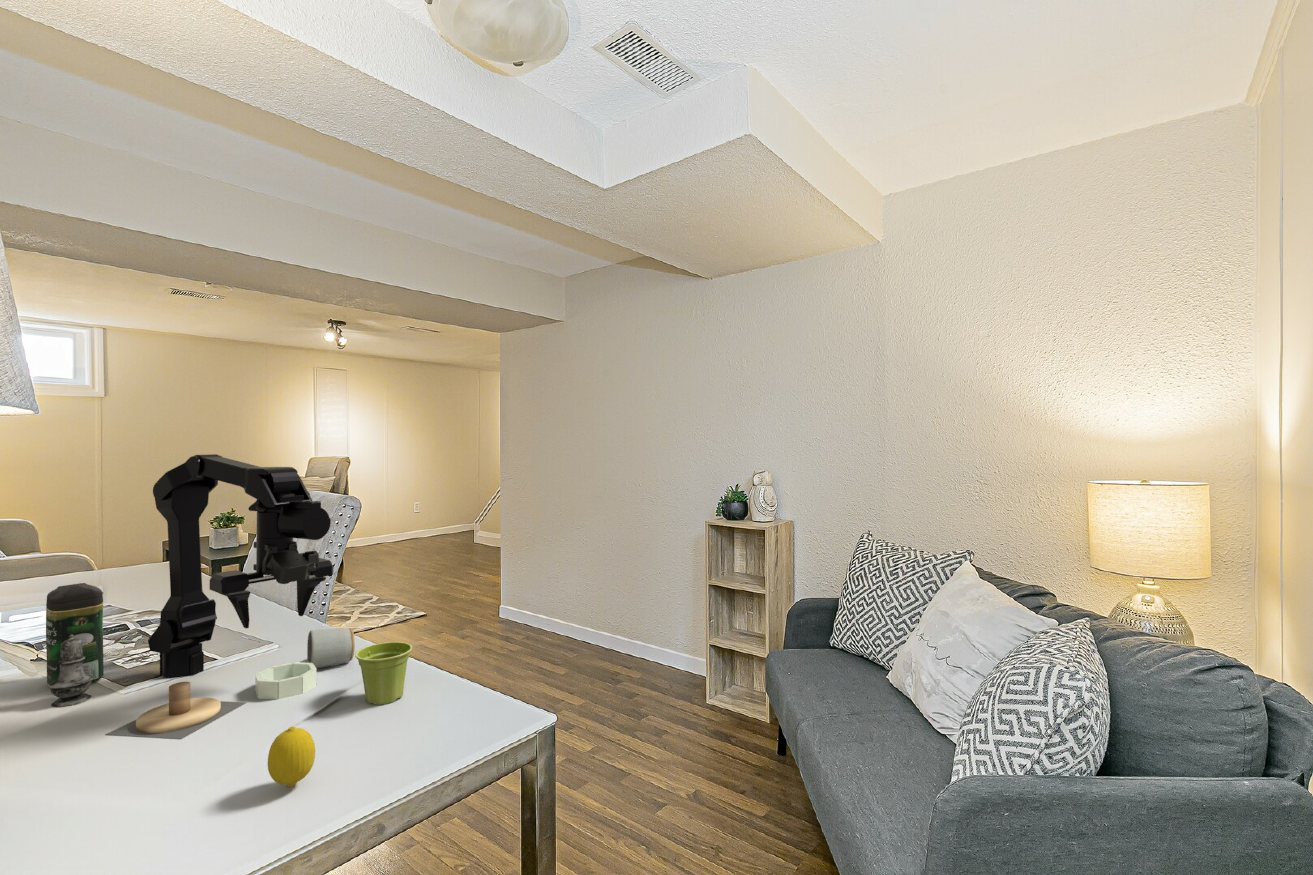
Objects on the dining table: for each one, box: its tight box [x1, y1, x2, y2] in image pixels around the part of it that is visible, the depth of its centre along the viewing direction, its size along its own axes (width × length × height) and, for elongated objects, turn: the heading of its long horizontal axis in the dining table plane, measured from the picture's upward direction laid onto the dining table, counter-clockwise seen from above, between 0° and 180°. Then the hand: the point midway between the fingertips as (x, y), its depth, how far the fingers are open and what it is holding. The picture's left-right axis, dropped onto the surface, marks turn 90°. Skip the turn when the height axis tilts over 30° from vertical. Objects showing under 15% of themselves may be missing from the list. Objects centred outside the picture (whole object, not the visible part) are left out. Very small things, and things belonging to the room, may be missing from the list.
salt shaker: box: [48, 634, 94, 708], centre depth 110 cm, size 6×6×12 cm
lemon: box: [267, 726, 316, 788], centre depth 83 cm, size 6×6×8 cm
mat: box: [104, 700, 247, 740], centre depth 101 cm, size 13×13×1 cm
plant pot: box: [354, 641, 413, 706], centre depth 111 cm, size 9×9×9 cm
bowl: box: [254, 661, 317, 700], centre depth 113 cm, size 9×9×4 cm
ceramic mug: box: [306, 627, 356, 670], centre depth 129 cm, size 11×8×8 cm
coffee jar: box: [45, 582, 105, 685], centre depth 119 cm, size 10×8×19 cm
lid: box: [135, 681, 221, 734], centre depth 101 cm, size 11×11×5 cm
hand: (274, 621), depth 112 cm, fingers open, 9 cm apart
